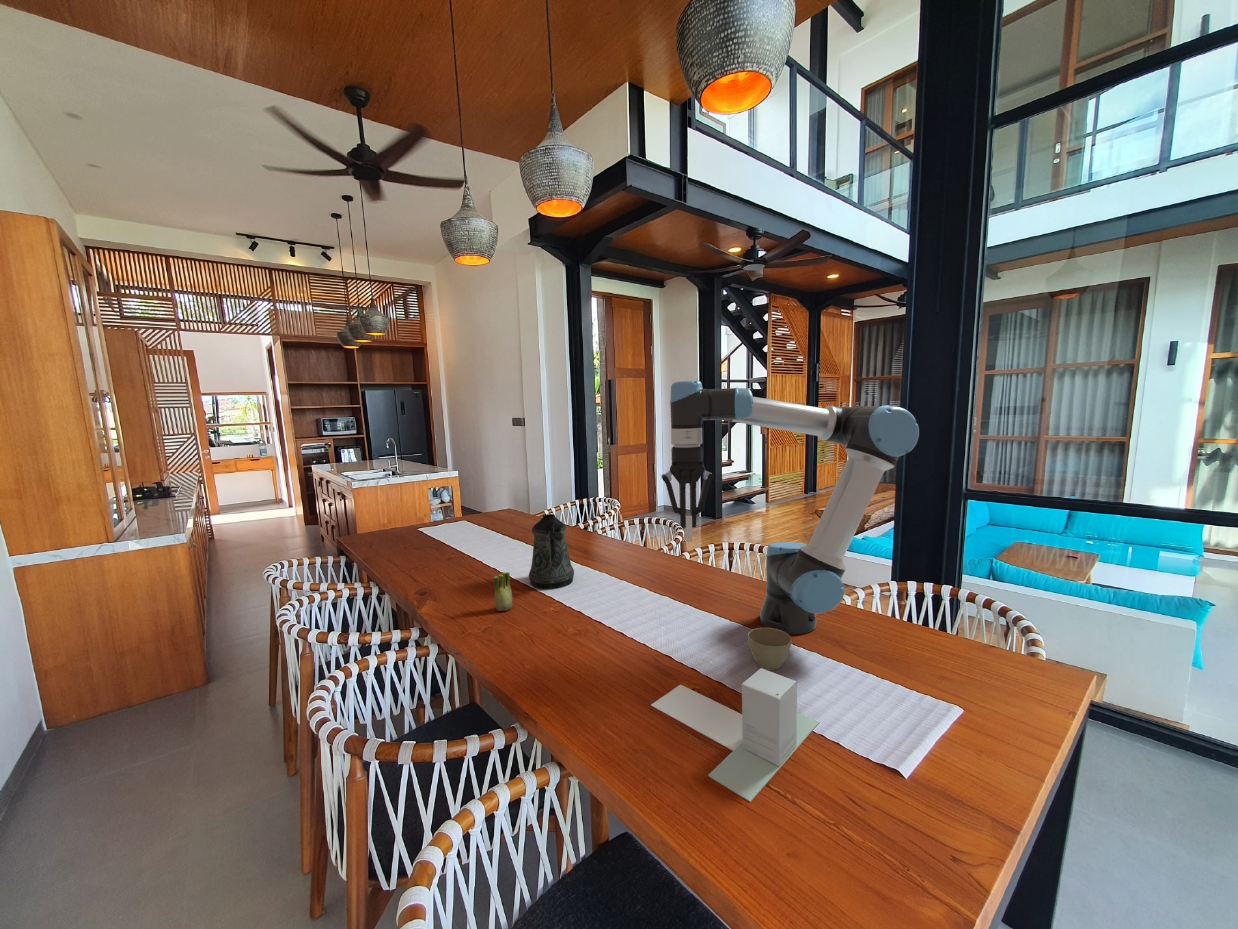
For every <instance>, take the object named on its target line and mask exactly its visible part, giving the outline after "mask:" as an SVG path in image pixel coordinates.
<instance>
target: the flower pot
mask: <svg viewBox="0 0 1238 929" xmlns="http://www.w3.org/2000/svg"><path fill="white" fill-rule="evenodd" d="M792 639H793V638H792V637H791V635H790V634H787V633H785V632H783V631H781V630H778V629H774V628H767V627H757V628H753V629H751V630H750V631H748V633H747V640H748V643H749V644H748V645H749V649H750V652H751V653H752V656H753V658H754V660H755V662H756V663H757V664H758V666H759V667H760V668H762V669H765V670H767V671H777V670H779V669H780V668H781V667H782V666H783V664H784V662H785V661H786V659H787V658H788V655H789V653H790V650H791V646H792Z"/></svg>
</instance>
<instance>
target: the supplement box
mask: <svg viewBox="0 0 1238 929" xmlns="http://www.w3.org/2000/svg"><path fill="white" fill-rule="evenodd" d="M797 686H798V685H797V681H796V680H794V679H791V678H788V677H785V676H783V675H780V674H778V673H775V672H773V671H771V670H767V669H764V668H762V667H760V668H759V669H758V670H756V671H755V672H754V673H752V675H751V676H750V677H749V678H747V679H745V680H744V681H743V682H742V683H741V714H742V734H743V748H744V749H746V750H748V751H750V752H752V753H754V754H756V755H758V756H760V757H762V758H763V759H765V760H767V761H769V762H771V763H773V764H775V765H777V766H780V765H781V764H782V762H783V761H784V760H785V759H786V758H787V757H788V755H789V754H790V753H791V752H792V751H793V749H794V748H795V747H796V745H797V713H798V711H797V708H798V707H797V705H798V704H797V695H798V694H797V693H798V692H797Z"/></svg>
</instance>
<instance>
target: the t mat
mask: <svg viewBox="0 0 1238 929" xmlns="http://www.w3.org/2000/svg"><path fill="white" fill-rule="evenodd" d="M650 706H651V707H653V708H655V710H658V711H660V712H661V713H663V714H665V715H667V716H669V717H671V718H673V719H675V720H676V721H678V722H680V723H682V724H683V725H685V726H687V727H689V728H690V729H693V730H694V731H696V732H698V733H699V734H702V735H703V736H705V737H707V738H709V739H711V740H712V741H714V742H716V743H718V744H719V745H721V746H724V747H725V748H727V749H728V750H730V751H732V752H730V753H729V754H728V755H727V756H726V757H725V758H724V759H723V760H722V761H721V762H720V763H719V764H718V765H717V766H716V767H715V768H713V770H712V771H710V773H708V775H707V776H708V777H709V778H711V779H712V780H714V781H715V782H717V783H718V784H720V785H722V786H723V787H725V788H727V789H729V790H730V791H732V792H733V793H735V794H736V795H737V796H740V797H741V798H743V799H745V800H746V801H747V802H749V803H752V801H753V800H754V799H755V798H756V796H758V794H759V793H760V792H761V790H763V788H764V787H765V786H767V784H768V783H769V782H770V780H772V778H773V777H774V776H775V775H776V774H777V772H779V770H780V769H781V767H782V766H783V765H784V764H785V763H786V762H787V761H788V760H789V758H790V757H791V756H792V755H793V754H794V753H795V751H796V750H797V749H799V747H800V746H801V745H802V744H803V742H804V741H805V740H806V739H807V738H808V736H810V734H811V733H812V732H813V731H814V730H815V728H816V727H817V726H818V725H819V724H820V722H819V721H817V720H815V719H813V718H810V717H808V716H806V715H804V714H801V713H799V712H797V745H796V747H795V748H794V749H793V751H792V752H791V753H790V754H789V755H788V757H787V758H786V759H785V760H784V761H783V762H782V764H781V765H780V766H777V765H775V764H773V763H771V762H769V761H767V760H765V759H763V758H762V757H760V756H758V755H756V754H754V753H752V752H750V751H748V750H746V749H744V748H743V734H742V713H740V712H738V711H735V709H731V708H729V707H728V706H726V705H723V704H722V703H720V702H717V701H716V700H713V699H711V698H709V697H707V696H706V695H703V694H701V693H698V692H697V691H694V690H692V689H690V688H689V687H686V686H684V685H682V684H679V685H678V686H676V687H675V688H673V689H672V690H671V691H669V692H668V693H666V694H665V695H663V696H661V697H659V699H657V700H656V701H655V702H653V703H651V704H650Z"/></svg>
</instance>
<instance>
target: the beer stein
mask: <svg viewBox="0 0 1238 929" xmlns="http://www.w3.org/2000/svg"><path fill="white" fill-rule="evenodd" d="M531 532H532V534H533V545H532V546H533V549H532V560H531V566H530V570H529V572H528V578H529V581H530V586H532V587H533V588H535V589H538V590H547V591H548V590H557V589H562V588H565V587H568V586H569V585H571V584H572V583H573V581H574V575H575V569H574V567H573V566H572V561H571V560H570V555H569V548H568V544H567V540H566V532H567V526H566V524H565V523H564V522H562V521H561V520H560V519H559V518H557V517H556V515H555V514H554V513H547V514H543V515H542V518H541V519H540V520H539V521H537V522H536V523H535V524H534V525H533V526H532V527H531Z"/></svg>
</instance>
